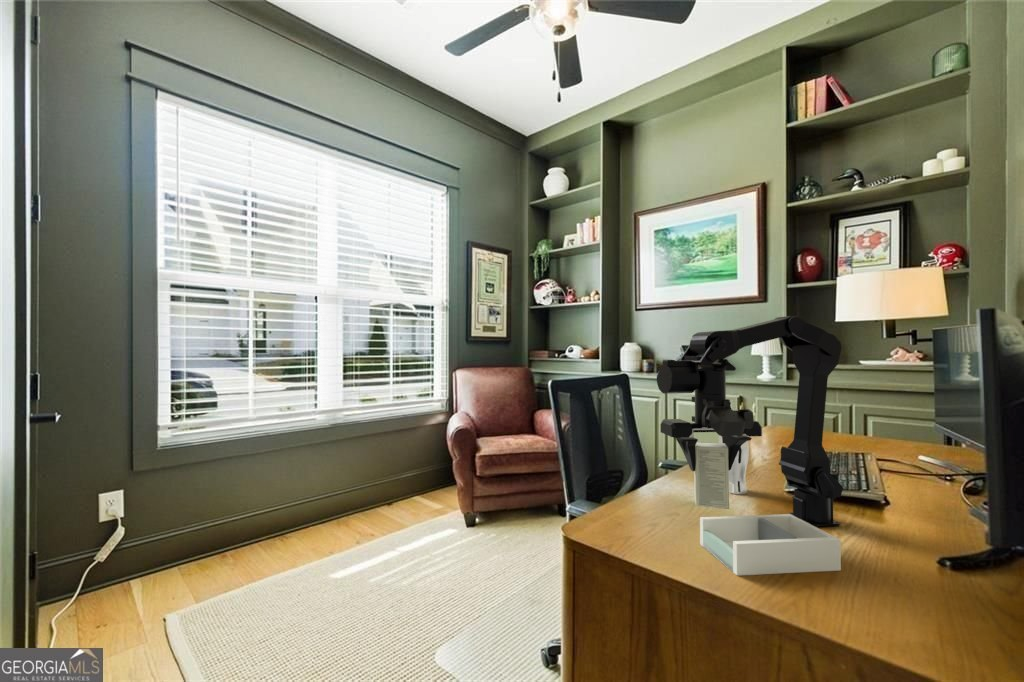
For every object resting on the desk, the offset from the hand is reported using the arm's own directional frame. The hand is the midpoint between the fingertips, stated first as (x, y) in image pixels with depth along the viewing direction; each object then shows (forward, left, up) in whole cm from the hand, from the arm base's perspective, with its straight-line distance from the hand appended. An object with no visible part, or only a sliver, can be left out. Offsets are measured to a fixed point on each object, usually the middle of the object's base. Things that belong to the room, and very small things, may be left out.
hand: (710, 470), depth 87 cm
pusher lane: (-3, +12, -12) cm, 17 cm away
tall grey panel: (-5, +12, -11) cm, 17 cm away
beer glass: (-19, -22, -12) cm, 31 cm away
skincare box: (0, 0, -7) cm, 7 cm away
